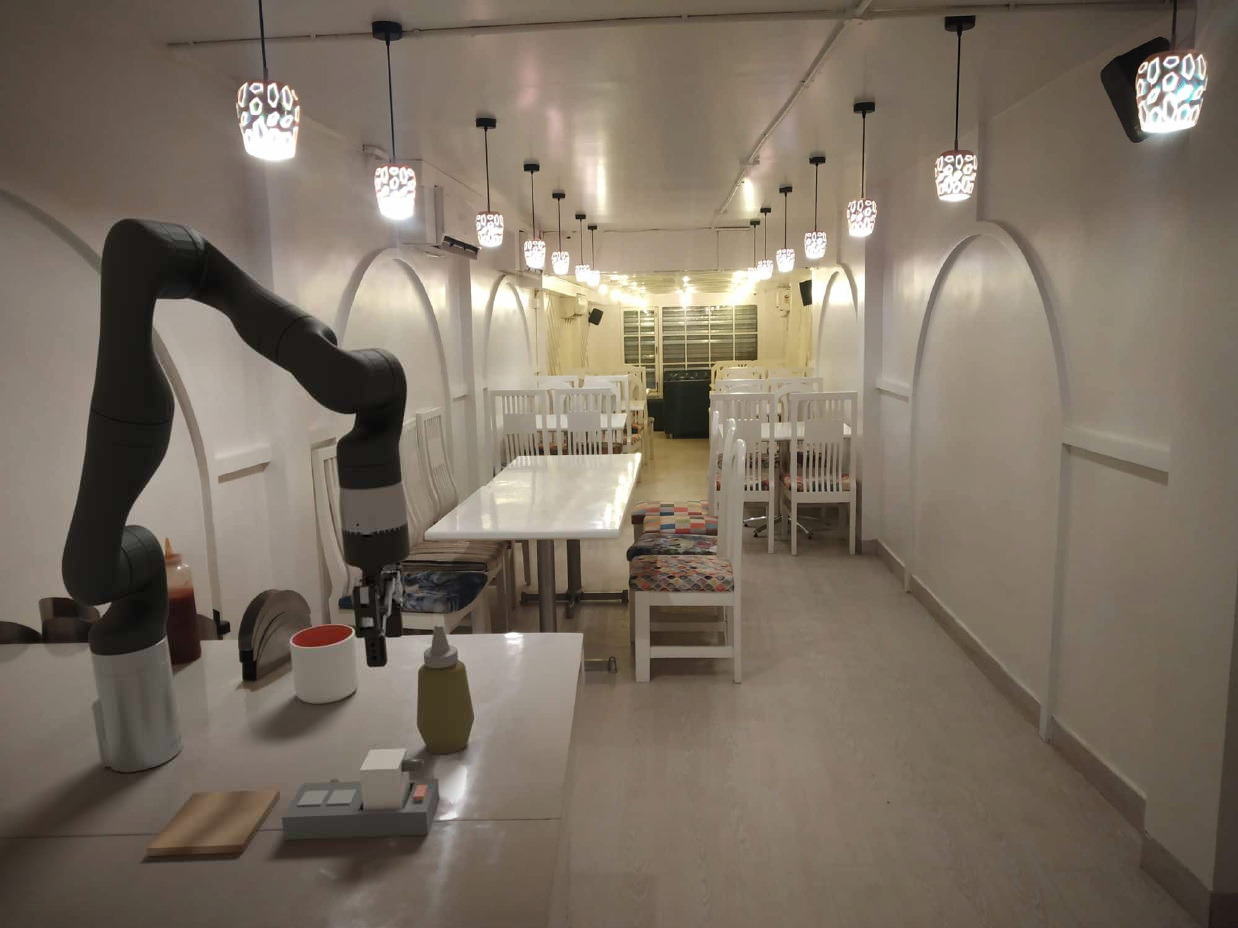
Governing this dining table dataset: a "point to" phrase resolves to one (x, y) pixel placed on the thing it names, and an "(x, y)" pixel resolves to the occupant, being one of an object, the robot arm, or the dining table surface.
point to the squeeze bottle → (443, 698)
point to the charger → (387, 778)
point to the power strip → (357, 812)
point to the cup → (324, 663)
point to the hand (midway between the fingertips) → (386, 650)
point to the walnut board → (215, 823)
